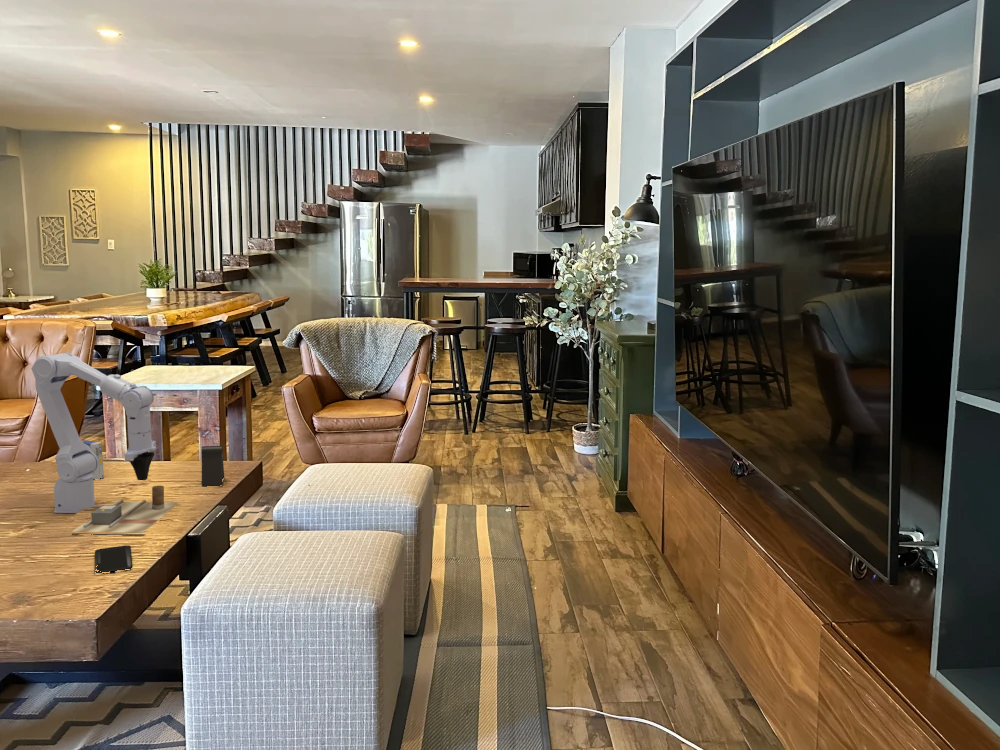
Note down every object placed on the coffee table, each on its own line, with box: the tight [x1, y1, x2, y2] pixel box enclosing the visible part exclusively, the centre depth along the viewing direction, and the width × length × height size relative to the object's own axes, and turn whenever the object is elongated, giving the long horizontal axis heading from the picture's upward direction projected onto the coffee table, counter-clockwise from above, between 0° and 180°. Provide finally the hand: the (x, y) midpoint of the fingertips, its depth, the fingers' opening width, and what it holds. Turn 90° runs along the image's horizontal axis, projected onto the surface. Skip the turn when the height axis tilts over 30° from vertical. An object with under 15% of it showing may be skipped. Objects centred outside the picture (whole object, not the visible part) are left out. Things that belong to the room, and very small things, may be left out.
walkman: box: [81, 439, 105, 480], centre depth 244 cm, size 8×3×12 cm, turn 68°
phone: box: [93, 544, 133, 573], centre depth 181 cm, size 8×1×15 cm
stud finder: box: [90, 505, 122, 524], centre depth 204 cm, size 5×6×4 cm
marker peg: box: [151, 485, 165, 510], centre depth 215 cm, size 3×3×6 cm
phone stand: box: [200, 445, 225, 488], centre depth 241 cm, size 9×6×12 cm, turn 14°
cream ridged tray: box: [71, 499, 180, 537], centre depth 208 cm, size 18×24×2 cm
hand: (142, 479), depth 212 cm, fingers closed
